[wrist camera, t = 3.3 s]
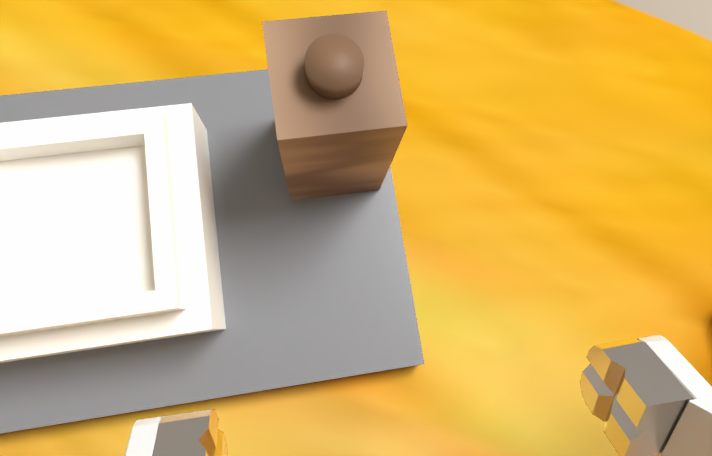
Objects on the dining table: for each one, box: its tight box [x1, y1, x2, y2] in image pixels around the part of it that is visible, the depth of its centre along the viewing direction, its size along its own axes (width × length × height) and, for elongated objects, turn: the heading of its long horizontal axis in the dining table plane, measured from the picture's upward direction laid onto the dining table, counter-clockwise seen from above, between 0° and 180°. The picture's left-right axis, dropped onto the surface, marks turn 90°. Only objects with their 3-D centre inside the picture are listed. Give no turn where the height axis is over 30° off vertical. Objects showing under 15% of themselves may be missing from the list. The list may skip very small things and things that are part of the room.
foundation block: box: [0, 103, 226, 363], centre depth 21 cm, size 10×10×4 cm
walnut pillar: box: [262, 11, 407, 201], centre depth 21 cm, size 4×4×9 cm
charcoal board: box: [0, 69, 424, 434], centre depth 24 cm, size 20×16×1 cm
